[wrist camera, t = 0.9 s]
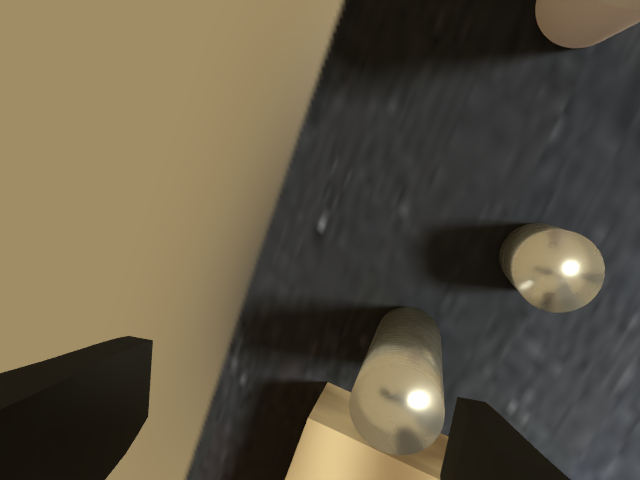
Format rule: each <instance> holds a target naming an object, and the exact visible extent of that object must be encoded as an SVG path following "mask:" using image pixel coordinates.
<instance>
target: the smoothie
mask: <svg viewBox="0 0 640 480" xmlns="http://www.w3.org/2000/svg"><path fill="white" fill-rule="evenodd" d="M535 15H536V20H537V23H538V26H539V28H540V30H541V31H542V33H543V34H544V35H545V36H546V37H547V38H548V39H549V40H550V41H552V42H553V43H555V44H557V45H559V46H562V47H567V48H584V47H589V46H592V45H595V44H597V43H599V42H601V41H603V40H605V39H607V38H609V37H611V36H613V35H615V34H617V33H619V32H621V31H623V30H625V29H627V28H629V27H631V26H633V25H635V24H637V23H638V22H640V0H536V6H535Z"/></svg>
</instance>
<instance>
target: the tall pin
mask: <svg viewBox="0 0 640 480" xmlns="http://www.w3.org/2000/svg"><path fill="white" fill-rule="evenodd" d="M349 410H350V416H351V419H352V422H353V424H354V426H355V428H356V430H357V431H358V433H359V434H360V436H361V437H362V438H363V439H364V440H365V441H366V442H367V443H369V444H370V445H371V446H373V447H374V448H376V449H378V450H380V451H383V452H385V453H389V454H393V455H410V454H414V453H417V452H420V451H422V450H424V449H426V448H427V447H429V446H430V445H431V444H432V443H433V442H434V441H435V440H436V439H437V437H438V436H439V434H440V432H441V430H442V427H443V424H444V416H445V410H444V391H443V372H442V352H441V335H440V331H439V328H438V326H437V324H436V322H435V321H434V319H433V318H432V317H431V316H430V315H429V314H427V313H426V312H424V311H423V310H420V309H418V308H414V307H400V308H396V309H394V310H392V311H390V312H389V313H387V314H386V315H385V316H384V317H383V318H382V320H381V321H380V323H379V325H378V328H377V330H376V333H375V335H374V338H373V340H372V343H371V345H370V347H369V350H368V352H367V355H366V357H365V360H364V362H363V365H362V367H361V370H360V372H359V374H358V377H357V379H356V382H355V384H354V387H353V389H352V392H351V395H350V401H349Z"/></svg>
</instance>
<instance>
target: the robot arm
mask: <svg viewBox="0 0 640 480" xmlns="http://www.w3.org/2000/svg"><path fill="white" fill-rule="evenodd" d="M152 344H153V341H152V340H147V339H142V338H136V337H131V336H127V337H121V338H116V339H113V340H109V341H106V342H102V343H99V344H96V345H92V346H89V347H86V348H83V349H80V350H77V351H73V352H70V353H67V354H64V355H61V356H58V357H55V358H51V359H48V360H45V361H42V362H38V363H35V364H31V365H28V366H25V367H21V368H18V369H14V370H10V371H7V372H4V373H0V480H105V479H106V478H107V476H108V475H109V474H110V473H111V471H112V470H113V469H114V468H115V466H116V465H117V464H118V463H119V461H120V460H121V459H122V457H123V456H124V455H125V454H126V452H127V450H128V449H129V447H130V446H131V444H132V442H133V441H134V439H135V438H136V436H137V435H138V433H139V431H140V429H141V427H142V426H143V424H144V423H145V421H146V419H147V417H148V408H149V391H150V376H151V360H152ZM440 480H570V479H569V478H568V477H567V476H566V475H564V474H563V473H562V472H561V471H560V470H559V469H558V468H557V467H555V466H554V465H553V464H552V463H551V462H550V461H549V460H548V459H547V458H545V457H544V456H543V455H542V454H541V453H540V452H539V451H538V450H537V449H536V448H535V447H534V446H532V445H531V444H530V443H529V442H528V441H527V440H526V439H525V438H524V437H523V436H522V435H521V434H520V433H519V432H518V431H517V430H516V429H515V428H513V427H512V426H511V425H510V424H509V423H508V422H507V421H506V420H505V419H504V418H503V417H502V416H501V415H500V414H499V413H498V412H496V411H495V410H494V409H493V408H492V407H491V406H489V405H488V404H487V403H486V402H482V401H476V400H471V399H465V398H460V397H457V402H456V406H455V411H454V415H453V420H452V424H451V428H450V433H449V437H448V442H447V446H446V451H445V455H444V459H443V464H442V468H441V473H440Z"/></svg>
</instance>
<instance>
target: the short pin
mask: <svg viewBox="0 0 640 480" xmlns="http://www.w3.org/2000/svg"><path fill="white" fill-rule="evenodd" d="M499 260H500V265H501V269H502V271H503V273H504V274H505V276H506V277H507V278H508V280H509V281H510V282H511V283H512V284H513V286H514V287H515V288H516V289H517V290H518V291H519V293H520V294H521V295H522V296H523V297H524V298H525V299H526V300H527V301H528V302H529V303H531V304H532V305H534V306H535V307H537V308H539V309H542V310H545V311H549V312H569V311H573V310H576V309H578V308H581V307H583V306H584V305H586V304H587V303H589V302H590V301H591V300H592V299H593V298H594V297H595V296H596V295H597V293H598V292H599V290H600V288H601V287H602V284H603V281H604V276H605V266H604V261H603V258H602V256H601V254H600V252H599V250H598V249H597V247H596V246H595V245H594V244H593V243H592V242H591V241H590V240H588V239H587V238H585V237H584V236H582V235H580V234H577V233H575V232H571V231H568V230H564V229H561V228H558V227H554V226H551V225H547V224H543V223H531V224H526V225H523V226H520V227H519V228H517V229H515V230H514V231H512V232H511V233H510V234H509V235H508V236H507V237H506V239H505V240H504V242H503V244H502V246H501V249H500V254H499Z"/></svg>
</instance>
